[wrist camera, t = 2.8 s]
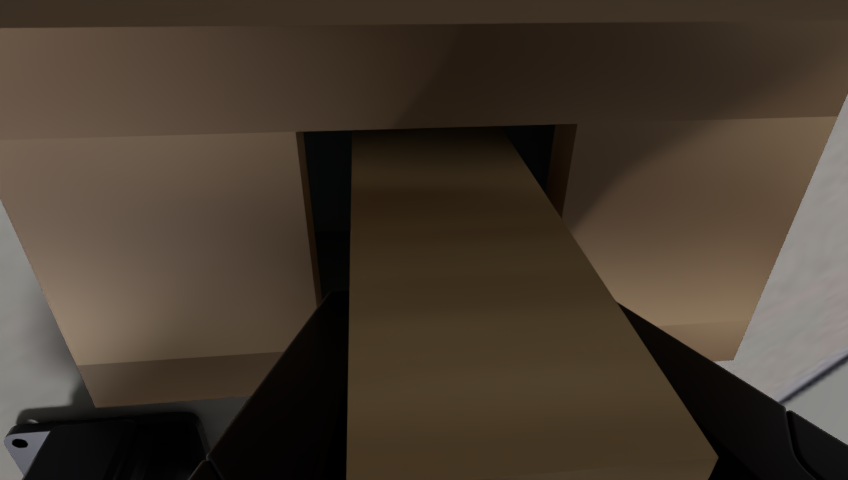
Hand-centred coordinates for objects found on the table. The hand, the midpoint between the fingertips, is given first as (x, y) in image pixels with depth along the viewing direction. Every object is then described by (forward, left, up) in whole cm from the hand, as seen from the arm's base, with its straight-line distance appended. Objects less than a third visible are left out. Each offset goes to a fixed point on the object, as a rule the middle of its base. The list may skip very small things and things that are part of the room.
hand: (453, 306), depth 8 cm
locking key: (0, 0, -6) cm, 6 cm away
